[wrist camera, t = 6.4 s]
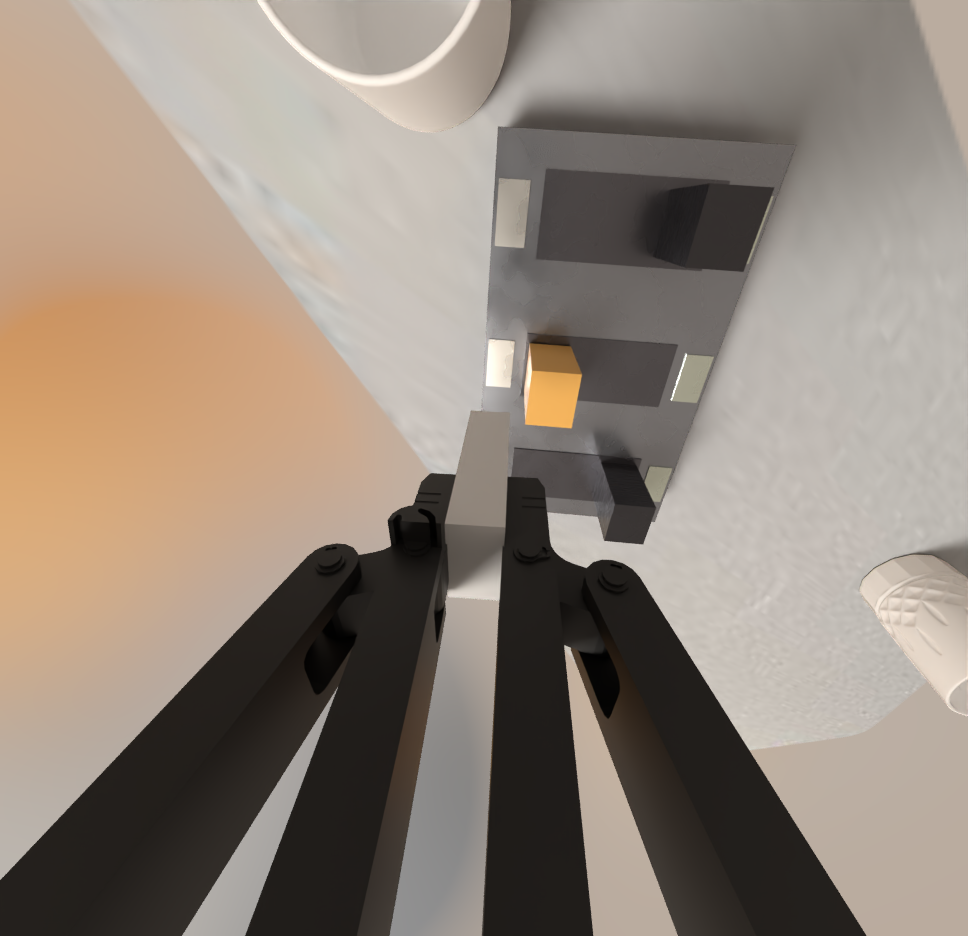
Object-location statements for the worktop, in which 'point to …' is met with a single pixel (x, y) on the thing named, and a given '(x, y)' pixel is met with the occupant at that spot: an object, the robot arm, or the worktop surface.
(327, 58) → the mug
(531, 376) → the toggle
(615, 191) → the panel
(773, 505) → the worktop surface
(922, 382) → the worktop surface
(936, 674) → the white cup
